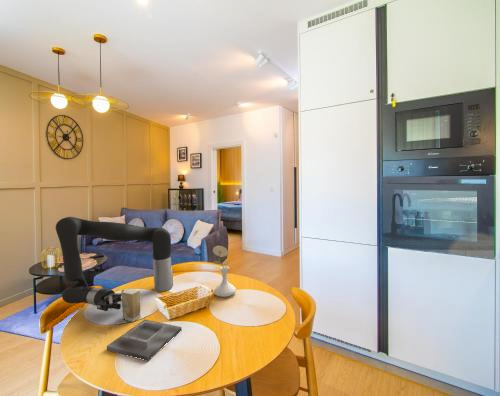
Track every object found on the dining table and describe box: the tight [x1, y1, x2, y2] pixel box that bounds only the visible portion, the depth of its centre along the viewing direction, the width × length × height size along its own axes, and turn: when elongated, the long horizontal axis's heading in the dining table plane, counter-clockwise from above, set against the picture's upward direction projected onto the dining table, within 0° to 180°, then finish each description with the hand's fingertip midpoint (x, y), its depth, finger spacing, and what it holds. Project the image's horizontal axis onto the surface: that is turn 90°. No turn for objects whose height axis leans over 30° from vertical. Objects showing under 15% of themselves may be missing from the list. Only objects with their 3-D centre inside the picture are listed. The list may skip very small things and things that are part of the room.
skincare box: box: [121, 288, 141, 323], centre depth 108 cm, size 6×4×12 cm
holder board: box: [106, 319, 183, 362], centre depth 93 cm, size 18×18×4 cm
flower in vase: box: [212, 245, 237, 298], centre depth 130 cm, size 13×11×25 cm
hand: (128, 302), depth 109 cm, fingers open, 8 cm apart
